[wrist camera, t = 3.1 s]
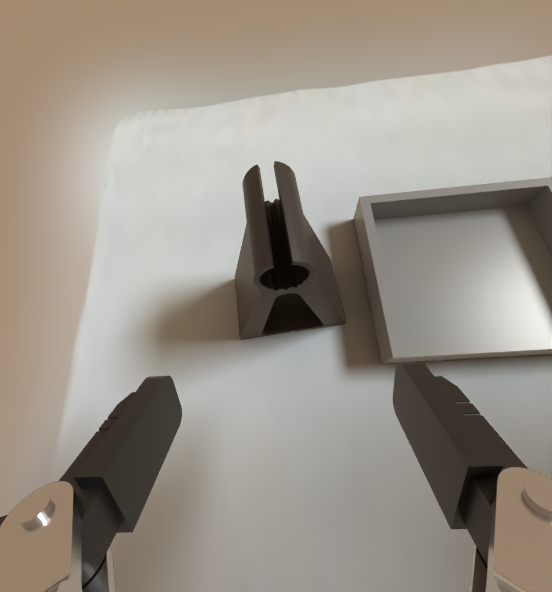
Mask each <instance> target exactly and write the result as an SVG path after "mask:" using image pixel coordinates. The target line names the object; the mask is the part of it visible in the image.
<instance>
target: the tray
mask: <svg viewBox="0 0 552 592" xmlns="http://www.w3.org/2000/svg"><path fill="white" fill-rule="evenodd" d="M354 224H355V230H356V235H357V240H358V245H359V251H360V256H361V261H362V267H363V272H364V277H365V282H366V288H367V293H368V298H369V303H370V309H371V314H372V319H373V324H374V330H375V335H376V340H377V345H378V351H379V356H380V361H381V364H386V363H403V362H423V361H441V360H459V359H477V358H495V357H513V356H531V355H549V354H552V177H550V178H540V179H531V180H521V181H511V182H501V183H491V184H482V185H472V186H462V187H452V188H442V189H433V190H423V191H413V192H403V193H393V194H384V195H374V196H364V197H359V200H358V204H357V208H356V211H355V215H354Z"/></svg>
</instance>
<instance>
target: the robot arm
mask: <svg viewBox="0 0 552 592" xmlns="http://www.w3.org/2000/svg"><path fill="white" fill-rule="evenodd" d="M393 405H394V409H395V413H396V416H397V418H398V420H399V422H400V424H401V426H402V428H403V430H404V432H405V434H406V437H407V439H408V441H409V443H410V445H411V447H412V449H413V451H414V453H415V455H416V457H417V459H418V461H419V464H420V466H421V468H422V470H423V472H424V474H425V476H426V478H427V480H428V482H429V484H430V486H431V488H432V491H433V493H434V495H435V497H436V499H437V501H438V503H439V505H440V507H441V509H442V511H443V513H444V516H445V518H446V520H447V522H448V524H449V526H450V528H451V529H468V531H469V533H470V535H471V537H472V539H473V541H474V543H475V544H474V548H473V556H472V565H471V575H470V584H469V592H552V479H551V478H549V477H547V476H545V475H543V474H541V473H539V472H536V471H533V470H530V469H528V468H527V467H526V466H525V465H524V464H523V463H522V462H521V460H520V459H519V458H518V457H517V456H516V455H515V453H514V452H513V451H512V450H511V449H510V448H509V446H508V445H507V444H506V443H505V442H504V440H503V439H502V438H501V437H500V436H499V435H498V433H497V432H496V431H495V430H494V429H493V428H492V426H491V425H490V424H489V423H488V422H487V421H486V419H485V418H484V417H483V416H481V415H480V412H479V411H478V410H477V409H476V408H475V407H474V405H473V404H470V401H469V399H468V398H467V397H466V396H465V395H464V394H463V392H462V391H461V390H460V389H459V388H458V387H457V386H455V385H454V384H453V383H451V382H450V381H448V380H447V379H445V378H444V377H442V376H437V377H434V375H433V374H432V373H431V372H430V370H429V369H428V368H427V366H426V365H425V364H424V363H423V362H403V363H397V365H396V369H395V380H394V391H393ZM181 418H182V408H181V404H180V401H179V398H178V395H177V392H176V389H175V385H174V382H173V380H172V378H171V377H170V376H155V377H147V378H146V379H145V380H144V381H143V383H142V384H141V385H140V387H139V388H138V390H137V391H136V392H133V393H131V394H130V395H128V396H127V397H126V398H125V399H124V400H122V401H121V402H120V403H119V404H118V405H117V406H116V407H115V409H114V410H113V411H112V412H111V414H110V415H109V416H108V420H105V422H104V423H103V424H102V426H101V427H100V428H99V431H98V432H96V433H95V435H94V436H93V437H92V439H91V440H90V441H89V442H88V444H87V445H86V446H85V448H84V449H83V450H82V452H81V453H80V454H79V456H78V457H77V458H76V459H75V461H74V462H73V463H72V465H71V466H70V467H69V469H68V470H67V471H66V473H65V474H64V475H63V476H62V478H61V479H60V480H59V481H57V482H53V483H50V484H47V485H45V486H43V487H41V488H39V489H38V490H36V491H34V492H33V493H32V494H30V495H28V496H27V497H26V498H25V499H23V500H22V501H21V502H20V503H19V504H18V505H17V506H16V507H15V508H14V509H13V510H12V511H11V512H10V513H9V514H8V515H6V516H3V517H0V592H115V581H114V569H113V557H112V550H111V547H110V545H111V542H112V540H113V538H114V536H115V534H116V533H117V532H133V530H134V528H135V526H136V523H137V521H138V519H139V517H140V514H141V512H142V510H143V508H144V505H145V503H146V501H147V498H148V496H149V494H150V492H151V489H152V487H153V485H154V483H155V480H156V478H157V476H158V474H159V471H160V469H161V467H162V464H163V462H164V460H165V458H166V455H167V453H168V451H169V449H170V446H171V444H172V442H173V440H174V437H175V435H176V433H177V430H178V428H179V426H180V423H181Z"/></svg>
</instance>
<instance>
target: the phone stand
mask: <svg viewBox="0 0 552 592" xmlns="http://www.w3.org/2000/svg"><path fill="white" fill-rule="evenodd" d="M274 170H275V176H276V182H277V187H278V193H279V199H280V200H278V199H275V201H274V202H273V203H271V202H270V201H266V202H265V201H264V194H263V188H262V181H261V174H260V168H259V166H258V165H255V166H254V167H252V168H251V169H250V170H249V171H248V172H247V173H246V175H245V177H244V180H243V192H244V201H245V210H246V219H247V224H246V229H245V233H244V238H243V242H242V247H241V251H240V256H239V260H238V265H237V269H236V274H235V282H236V294H237V307H238V320H239V332H240V339H249V338H256V337H262V336H269V335H275V334H282V333H288V332H292V331H301V330H308V329H314V328H321V327H327V326H334V325H340V324H344V323H346V320H345V316H344V312H343V308H342V304H341V300H340V296H339V291H338V287H337V283H336V279H335V275H334V271H333V267H332V263H331V260H330V258H329V256H328V255H327V253H326V251H325V250H324V248H323V246H322V244H321V243H320V241H319V239H318V238H317V236H316V234H315V233H314V231H313V229H312V228H311V226H310V224H309V223H308V221H307V219H306V218H305V216H304V214H303V211H302V206H301V201H300V197H299V192H298V187H297V183H296V178H295V174H294V172H293V171H292V169H291V168H290V167H289V166H287V165H286V164H284V163H281V162H277V161H275V163H274Z"/></svg>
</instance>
